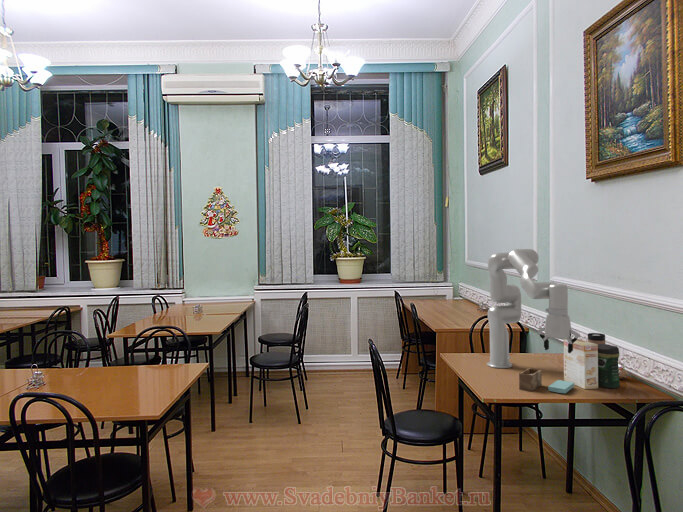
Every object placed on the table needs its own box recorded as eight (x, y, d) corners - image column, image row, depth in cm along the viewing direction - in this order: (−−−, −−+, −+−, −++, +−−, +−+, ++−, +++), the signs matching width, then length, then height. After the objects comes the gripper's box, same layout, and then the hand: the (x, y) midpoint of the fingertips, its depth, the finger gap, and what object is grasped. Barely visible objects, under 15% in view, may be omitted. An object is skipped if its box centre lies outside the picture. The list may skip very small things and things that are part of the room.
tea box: (529, 383, 227) (529, 368, 227) (541, 385, 224) (541, 369, 224) (519, 389, 218) (519, 373, 218) (532, 391, 215) (532, 375, 215)
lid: (557, 385, 224) (557, 379, 224) (574, 388, 219) (574, 382, 219) (548, 392, 214) (548, 386, 214) (565, 395, 209) (565, 389, 209)
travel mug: (605, 374, 240) (604, 333, 240) (606, 378, 233) (605, 336, 233) (587, 373, 243) (587, 332, 243) (588, 376, 236) (587, 335, 236)
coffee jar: (623, 387, 218) (623, 345, 217) (610, 389, 215) (609, 347, 215) (604, 382, 227) (604, 341, 227) (591, 384, 224) (591, 343, 224)
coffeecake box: (599, 388, 218) (598, 344, 217) (584, 389, 216) (583, 345, 216) (577, 379, 232) (576, 338, 232) (563, 380, 231) (562, 338, 231)
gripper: (535, 311, 220) (535, 349, 220) (576, 314, 208) (576, 355, 209) (540, 309, 225) (540, 347, 226) (581, 312, 214) (581, 352, 215)
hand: (558, 351), depth 217 cm, fingers open, 9 cm apart
